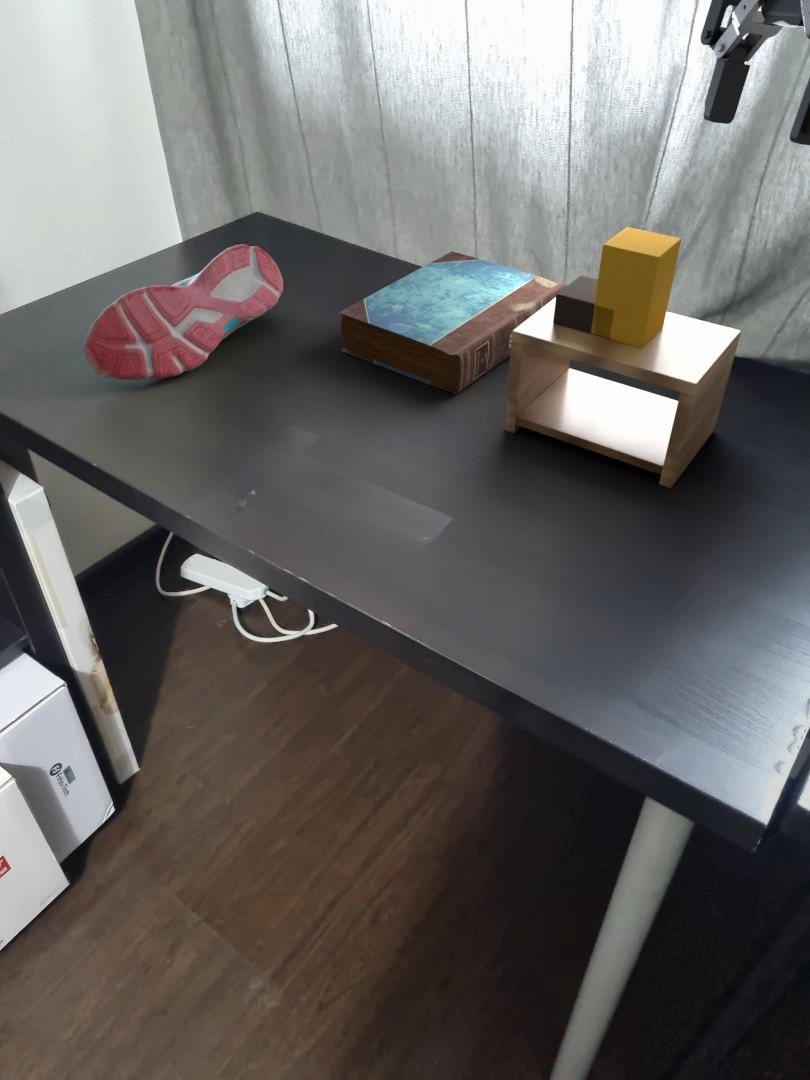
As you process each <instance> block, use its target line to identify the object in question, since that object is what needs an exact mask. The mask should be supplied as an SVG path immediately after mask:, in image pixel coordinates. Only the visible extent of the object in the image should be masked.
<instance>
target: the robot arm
mask: <svg viewBox="0 0 810 1080" xmlns="http://www.w3.org/2000/svg"><path fill="white" fill-rule="evenodd" d="M730 6H731V12H730V15H729V18H728V22H727V24H726V27H724V26H722V23H723V20H724V17H725V14H726V12H727V9H728V7H730ZM784 27H785V28H786V27H787V28H798V27H799V28H804V29H803V30H804V34H805V36H806V37H807V39H808V40H810V0H711V1H710V5H709V8H708V11H707V14H706V17H705V21H704V24H703V27H702V31H701V34H700V42H701V45H703V46H708V47H709V48H710V49H711V50H712V51H713V55H714V57H715V59H716V61H715V66H714V69H713V72H712V76H711V79H710V83H709V87H708V89H707V94H706V97H705V101H704V108H703V109H704V111H703V118H704V120H705V121H707V122H711V123H717V124H724V125H725V124H726V125H729V124H731V123H732V122H733V121H734V120H735V117H736V113H737V110H738V108H739V104H740V101H741V97H742V94H743V91H744V87H745V85H746V81H747V78H748V75H749V72H750V68H751V64H746V63H748V62H749V61H750V60H752V59H753V57H754V56H755V54H757V52H758V51H759V50H760V48H762V46H763V45H764V43H765V42H766V41H767V40H768V39H770V38H773V37H775V36H777V34H779V32H781V31H782V29H783V28H784ZM744 37H745V38H744ZM789 140H790V142H791V143H795V144H797V145H803V146H810V76H809V77H808V80H807V83H806V86H805V89H804V92H803V94H802V98H801V101H800V104H799V106H798V110H797V111H796V114H795V118H794V121H793V124H792V127H791V130H790V133H789Z"/></svg>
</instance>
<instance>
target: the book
mask: <svg viewBox="0 0 810 1080" xmlns="http://www.w3.org/2000/svg"><path fill="white" fill-rule="evenodd" d="M566 286H567V285H566V283H565V282H560V283H557V282H555V281H553V280H550V279H548V278H545V277H542V276H539V275H537V274H536V275H535V274H532V273H530V272H526V271H523V270H519V269H515V268H513V267H509V266H505V265H502V264H499V263H495V262H491V261H488V260H485V259H482V258H477V257H475V256H470V255H467V254H463V253H459V252H457V251H450V252H448V253H446V254H444V255H442V256H441V257H439V258H437V259H435V260H433V261H431V262H429V263H427V264H426V265H424V266H422V267H420V268H418V269H416V270H414V271H413V272H411V273H409V274H407V275H405V276H403V277H402V278H399V279H398V280H396V281H394V282H392V283H390V284H388V285H386V286H385V287H383V288H381V289H379V290H377V291H376V292H373V293H372V294H370V295H368V296H366V297H364V298H363V299H360V300H359V301H357V302H355V303H353V304H351V305H350V306H348V307H346V308H344V309H342V310H340V311H339V312H338V314H339V315H342V316H341V324H340V332H341V338H342V341H343V344H344V348H343V349H341V350H340V351H341V352H342V353H345V354H347V355H350V356H353V357H355V358H358V359H360V360H363V361H366V362H368V363H371V364H373V365H376V366H379V367H382V368H384V369H387V370H389V371H391V372H395V373H398V374H400V375H403V376H405V377H408V378H411V379H412V380H413V379H414V380H416V381H418V382H421V383H424V384H427V385H429V386H431V387H435V388H437V389H440V390H443V391H447V392H449V393H451V394H453V395H458V394H460V393H461V392H462V391H463V390H465V389H466V388H467V387H469V386H470V385H472V384H474V382H476V381H477V380H478V379H480V378H481V377H483V376H484V375H486V374H487V373H488V372H490V371H491V370H493V369H494V368H495V367H496V366H498V365H499V364H501V363H502V362H503V361H505V360H507V359H508V358H510V355H511V343H512V331H513V330H514V329H516V328H517V327H518V326H519V325H521V324H522V323H523V322H525V321H526V320H527V319H528V318H530V317H531V316H532V315H534V314H535V313H536V312H537V311H539V310H540V309H541V308H543V307H544V306H545V305H546V304H548V303H549V302H550V301H552V300H553V299H554V298H555V297H556V294H557V293H558V292H560V291H561V290H562V289H564V288H565V287H566Z"/></svg>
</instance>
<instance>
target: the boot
mask: <svg viewBox="0 0 810 1080" xmlns="http://www.w3.org/2000/svg"><path fill="white" fill-rule="evenodd" d="M681 243H682V238H681V237H677V236H672V235H668V234H663V233H658V232H654V231H648V230H643V229H639V228H635V227H630V226H626V227H625V228H623V229H622V230H621V231H619V232H618V233H616V235H614V236H612V238H611V237H610V239H609V240H607V241H606V242H605V243H603V244H602V248H601V257H600V262H599V270H598V276H597V278H594V277H589V276H585V275H579V276H578V277H576V278H575V279H574V280H573V281H571V282H570V283H569V284H567V285H566V287H565V288H564V289H562V290H561V291H560V292H558V293H557V294H556V301H555V310H554V319H553V323H554V324H557V325H561V326H565V327H568V328H572V329H575V330H579V331H582V332H586V333H590V334H593V335H597V336H600V337H604V338H607V339H611V340H615V341H618V342H622V343H625V344H629V345H632V346H636V347H640V348H642V347H643V346H644V345H645V344H646V343H647V342H648V341H649V340H650V339H651V338H652V337H653V336H654V335H655V334H656V333H657V332H658V331H659V330H660V329H662V328H663V326H664V321H665V317H666V312H668V307H669V302H670V297H671V292H672V288H673V282H674V277H675V272H676V267H677V262H678V257H679V253H680V248H681Z"/></svg>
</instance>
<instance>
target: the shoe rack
mask: <svg viewBox="0 0 810 1080" xmlns="http://www.w3.org/2000/svg"><path fill="white" fill-rule="evenodd" d="M555 301H556V297H555V298H554V299H553V300H552V301H550V302H549V303H548V304H546V305H545V306H544V307H543V308H541V309H540V310H539V311H537V312H536V313H535V314H534V315H532V316H531V317H530V318H528V319H527V320H526V321H525V322H523V323H522V324H521V325H519V326H518V327H517V328H516V329H514V330H513V331H512V343H511V355H510V356H509V367H508V369H509V370H508V382H507V394H506V407H505V422H504V431H506V432H509V433H512V434H515V433H517V432H518V431H519V430H520V429H521V428H524V429H527V430H530V431H534V432H536V433H539V434H542V435H545V436H547V437H550V438H554V439H557V440H560V441H562V442H565V443H568V444H571V445H574V446H576V447H580V448H583V449H586V450H588V451H591V452H594V453H597V454H600V455H602V456H606V457H608V458H611V459H614V460H617V461H620V462H623V463H625V464H629V465H632V466H634V467H636V468H640V469H643V470H646V471H649V472H651V473H654V474H657V475H660V478H659V482H658V484H659V485H660V486H662V487H665V488H669V489H672V487H674V485H675V483H676V482H677V481H678V480H679V478H680V476H681V475H682V474H683V472H685V470H686V469H687V467H688V466H689V464H690V463H691V462H692V461H693V459H694V458H695V457H696V455H697V454H698V452H699V451H700V450H701V448H703V446H704V445H705V443H706V442H707V441H708V439H709V438H710V437H711V435H712V434H713V433H714V431H715V429H716V426H717V422H718V418H719V415H720V411H721V406H722V404H723V399H724V396H725V392H726V389H727V386H728V382H729V378H730V375H731V371H732V366H733V363H734V360H735V355H736V352H737V349H738V345H739V341H740V338H741V333H742V330H740V329H736V328H733V327H728V326H725V325H721V324H717V323H712V322H709V321H705V320H701V319H698V318H693V317H689V316H686V315H681V314H678V313H674V312H670V311H667V312H666V317H665V321H664V326H663V328H662V329H660V330H659V331H658V332H657V333H656V334H655V335H654V336H653V337H652V338H651V339H650V340H649V341H648V342H647V343H646V344H645V345H644V346H643V347H642V348H640V347H636V346H632V345H629V344H625V343H622V342H618V341H615V340H611V339H607V338H604V337H600V336H597V335H593V334H590V333H586V332H582V331H579V330H575V329H572V328H568V327H565V326H561V325H557V324H554V323H553V319H554V310H555ZM571 361H574V362H578V363H580V364H584V365H588V366H591V367H594V368H598V369H602V370H605V371H608V372H612V373H615V374H618V375H621V376H623V377H628V378H631V379H635V380H638V381H642V382H645V383H649V384H651V385H655V386H659V387H661V388H665V389H669V390H671V391H675V392H679V397H678V400H676V399H673V398H670V397H666V396H664V395H663V396H662V395H660V394H656V393H653V392H650V391H647V390H643V389H640V388H638V387H637V388H636V387H634V386H630V385H627V384H624V383H620V382H617V381H613V380H610V379H606V378H605V377H600V376H597V375H593V374H590V373H587V372H583V371H580V370H577V369H573V368H570V363H571Z"/></svg>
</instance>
